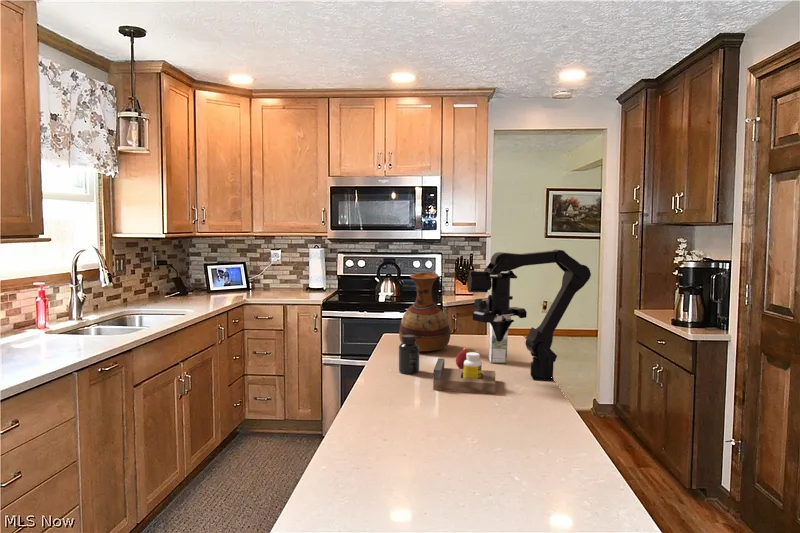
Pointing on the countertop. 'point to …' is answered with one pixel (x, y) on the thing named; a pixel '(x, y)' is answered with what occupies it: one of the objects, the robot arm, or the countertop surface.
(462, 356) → the onion
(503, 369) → the countertop surface
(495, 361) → the syrup box
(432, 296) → the brown ceramic vase
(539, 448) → the countertop surface
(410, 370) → the supplement bottle
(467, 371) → the supplement bottle
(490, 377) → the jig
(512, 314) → the robot arm
